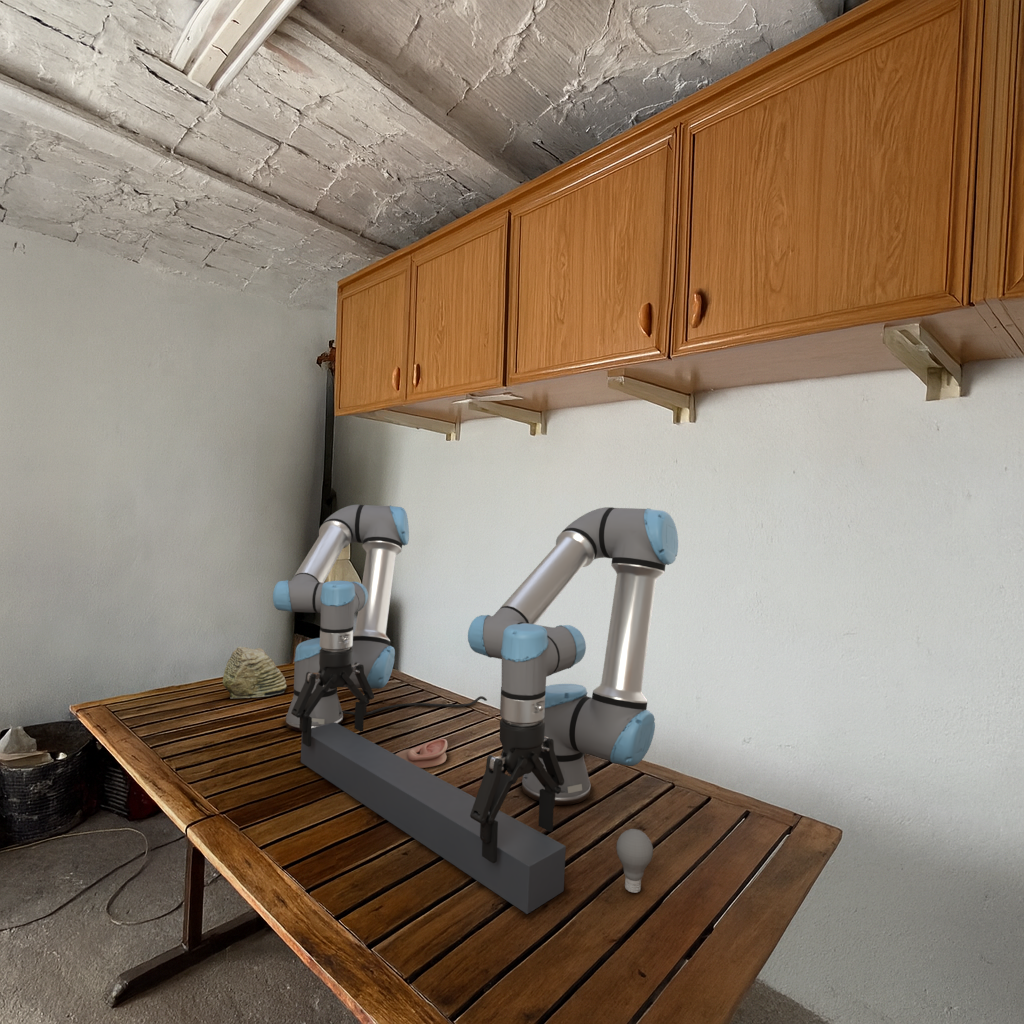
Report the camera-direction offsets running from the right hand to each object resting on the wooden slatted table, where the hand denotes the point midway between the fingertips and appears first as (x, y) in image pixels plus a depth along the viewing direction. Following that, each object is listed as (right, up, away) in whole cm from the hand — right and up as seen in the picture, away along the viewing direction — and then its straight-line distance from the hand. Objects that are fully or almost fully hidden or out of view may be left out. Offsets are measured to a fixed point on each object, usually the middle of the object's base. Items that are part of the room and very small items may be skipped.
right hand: (518, 843), depth 107 cm
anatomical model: (-24, -5, +48) cm, 54 cm away
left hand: (-43, +3, +42) cm, 61 cm away
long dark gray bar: (-22, -5, +21) cm, 31 cm away
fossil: (-82, -2, +91) cm, 123 cm away
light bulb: (+19, -8, -1) cm, 21 cm away
